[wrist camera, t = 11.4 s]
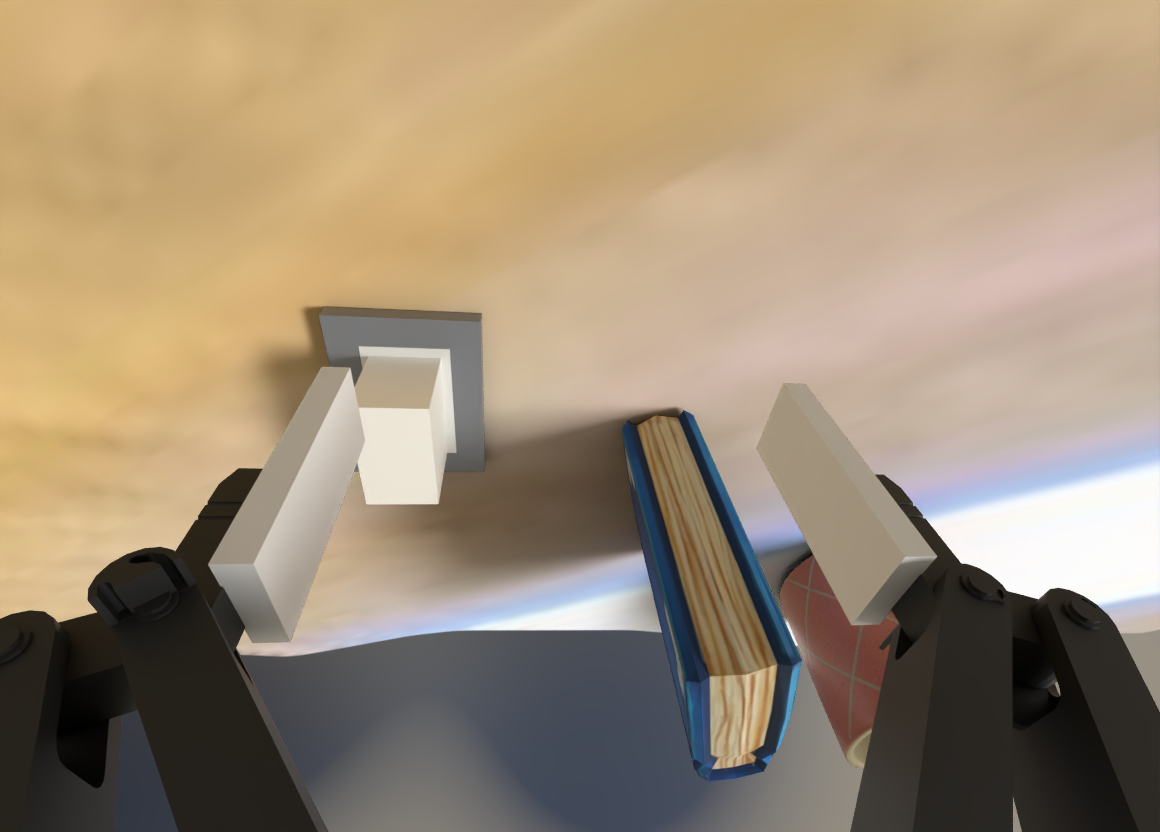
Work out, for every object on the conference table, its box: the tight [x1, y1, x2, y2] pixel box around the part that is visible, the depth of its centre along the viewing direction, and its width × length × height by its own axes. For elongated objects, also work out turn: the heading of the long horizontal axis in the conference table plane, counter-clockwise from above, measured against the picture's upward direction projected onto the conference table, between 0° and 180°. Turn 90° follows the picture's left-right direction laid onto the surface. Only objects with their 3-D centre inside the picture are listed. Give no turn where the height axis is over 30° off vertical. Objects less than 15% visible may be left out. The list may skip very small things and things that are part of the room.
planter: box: [780, 555, 899, 770], centre depth 61 cm, size 19×19×20 cm
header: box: [319, 307, 485, 472], centre depth 43 cm, size 16×12×5 cm
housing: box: [354, 356, 448, 505], centre depth 41 cm, size 10×6×7 cm, turn 175°
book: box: [622, 410, 802, 781], centre depth 46 cm, size 22×7×25 cm, turn 10°
